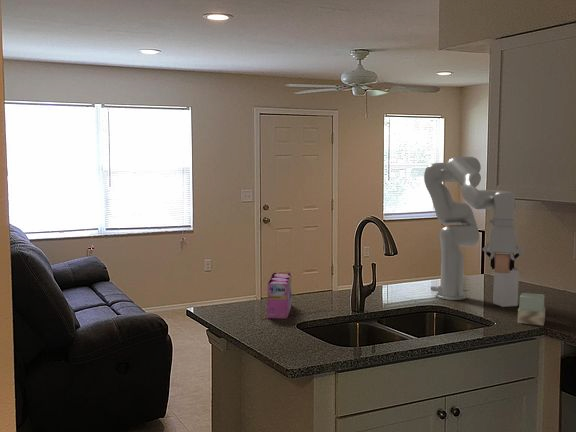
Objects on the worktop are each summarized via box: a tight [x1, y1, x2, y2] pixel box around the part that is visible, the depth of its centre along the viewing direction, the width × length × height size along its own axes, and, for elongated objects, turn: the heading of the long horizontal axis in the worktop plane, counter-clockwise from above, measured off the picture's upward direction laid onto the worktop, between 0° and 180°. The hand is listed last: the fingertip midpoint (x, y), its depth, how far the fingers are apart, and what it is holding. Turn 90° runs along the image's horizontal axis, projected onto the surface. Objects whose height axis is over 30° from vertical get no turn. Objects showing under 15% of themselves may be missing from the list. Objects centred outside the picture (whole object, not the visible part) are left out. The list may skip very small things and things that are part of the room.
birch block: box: [517, 306, 546, 326], centre depth 246 cm, size 9×9×5 cm
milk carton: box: [492, 265, 520, 308], centre depth 273 cm, size 7×7×19 cm
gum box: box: [266, 272, 293, 319], centre depth 261 cm, size 24×8×14 cm, turn 176°
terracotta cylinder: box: [493, 253, 511, 273], centre depth 256 cm, size 6×6×7 cm
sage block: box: [518, 292, 545, 312], centre depth 246 cm, size 8×8×5 cm
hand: (502, 269), depth 256 cm, fingers closed on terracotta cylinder, 6 cm apart
